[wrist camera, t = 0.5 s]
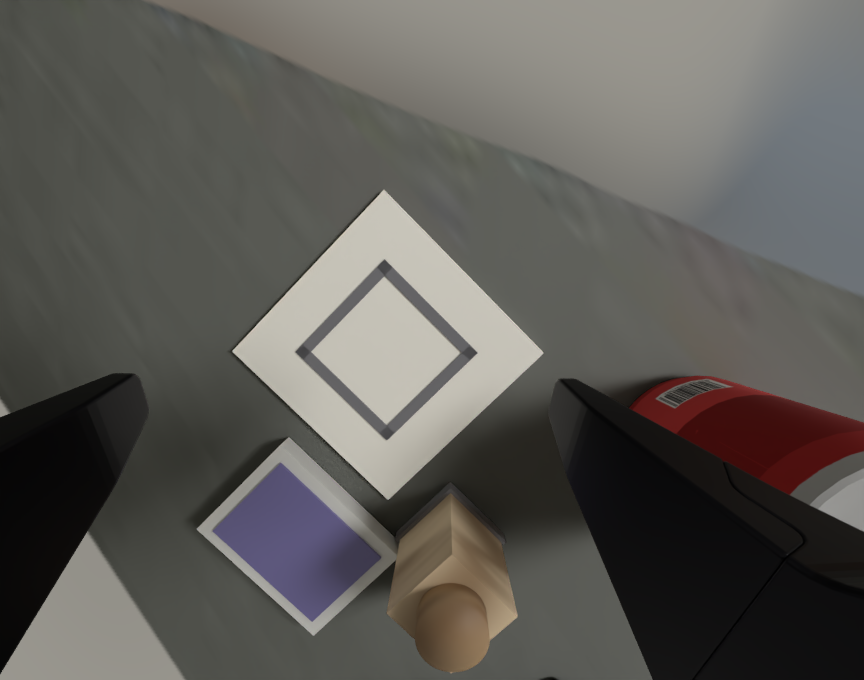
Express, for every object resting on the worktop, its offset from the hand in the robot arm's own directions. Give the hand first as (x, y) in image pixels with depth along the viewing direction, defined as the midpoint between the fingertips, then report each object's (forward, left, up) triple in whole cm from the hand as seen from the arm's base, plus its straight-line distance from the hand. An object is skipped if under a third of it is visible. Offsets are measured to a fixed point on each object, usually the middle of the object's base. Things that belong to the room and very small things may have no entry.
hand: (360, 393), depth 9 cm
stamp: (-10, +7, -13) cm, 18 cm away
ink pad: (-4, +13, -13) cm, 19 cm away
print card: (0, +2, -13) cm, 13 cm away
